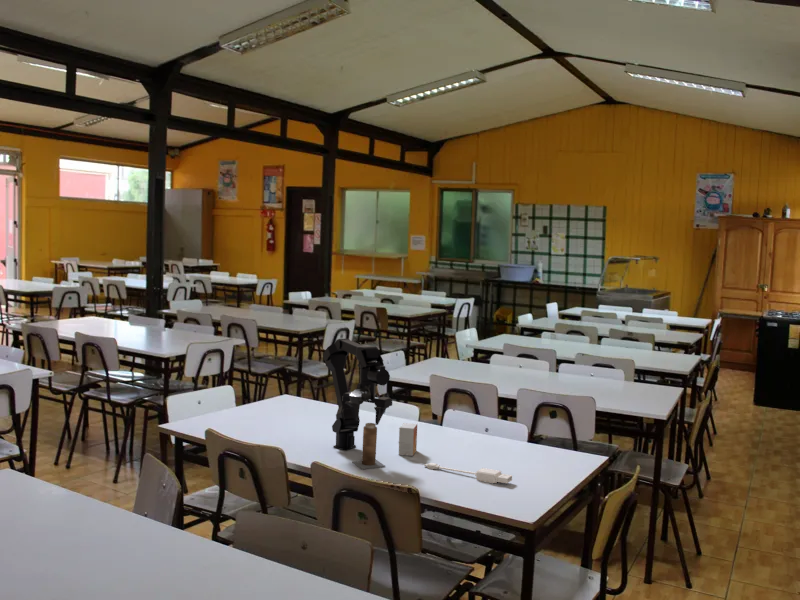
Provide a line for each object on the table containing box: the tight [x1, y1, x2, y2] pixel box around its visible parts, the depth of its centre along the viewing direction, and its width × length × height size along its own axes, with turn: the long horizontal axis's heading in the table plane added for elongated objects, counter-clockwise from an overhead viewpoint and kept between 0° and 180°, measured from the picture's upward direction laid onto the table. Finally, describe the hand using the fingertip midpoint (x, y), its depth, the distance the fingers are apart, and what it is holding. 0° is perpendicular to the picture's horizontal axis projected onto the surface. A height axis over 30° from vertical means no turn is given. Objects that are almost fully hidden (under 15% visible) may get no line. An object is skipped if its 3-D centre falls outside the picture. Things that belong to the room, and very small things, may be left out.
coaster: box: [351, 459, 386, 470], centre depth 258 cm, size 9×9×1 cm
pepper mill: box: [361, 422, 378, 465], centre depth 258 cm, size 5×5×14 cm
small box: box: [398, 422, 418, 457], centre depth 275 cm, size 8×6×10 cm
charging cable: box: [423, 462, 513, 484], centre depth 250 cm, size 5×32×3 cm, turn 58°
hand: (366, 422), depth 266 cm, fingers open, 9 cm apart
